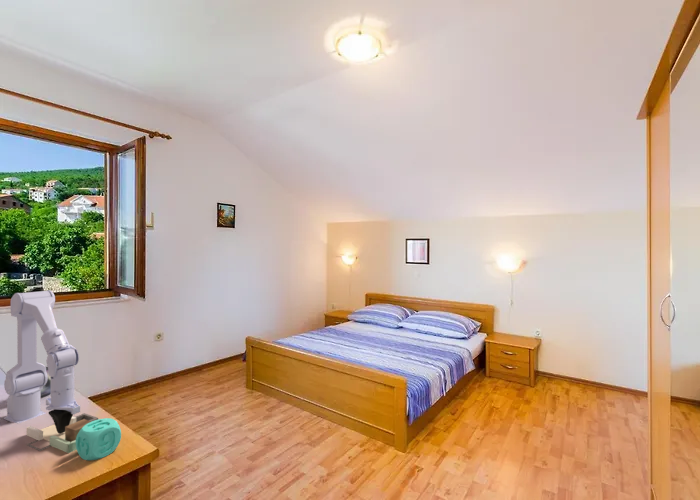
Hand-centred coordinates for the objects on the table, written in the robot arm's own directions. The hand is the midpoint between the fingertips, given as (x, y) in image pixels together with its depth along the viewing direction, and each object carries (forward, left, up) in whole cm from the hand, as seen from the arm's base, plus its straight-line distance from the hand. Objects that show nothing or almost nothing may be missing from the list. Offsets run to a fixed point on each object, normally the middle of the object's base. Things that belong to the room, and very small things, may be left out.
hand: (62, 431), depth 108 cm
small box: (-40, +11, -2) cm, 42 cm away
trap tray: (+1, 0, -1) cm, 2 cm away
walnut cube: (+9, 0, -1) cm, 9 cm away
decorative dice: (+19, -1, -2) cm, 19 cm away
